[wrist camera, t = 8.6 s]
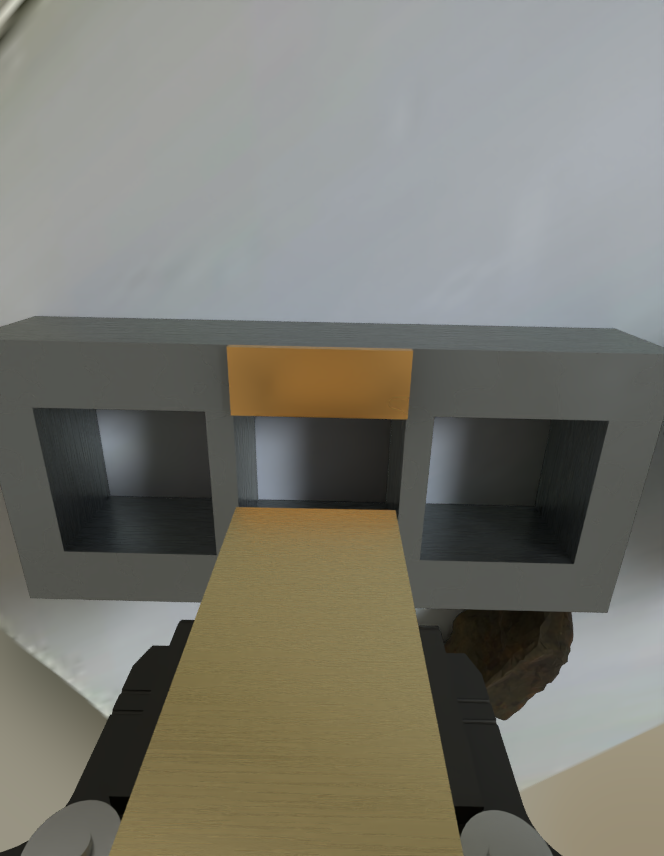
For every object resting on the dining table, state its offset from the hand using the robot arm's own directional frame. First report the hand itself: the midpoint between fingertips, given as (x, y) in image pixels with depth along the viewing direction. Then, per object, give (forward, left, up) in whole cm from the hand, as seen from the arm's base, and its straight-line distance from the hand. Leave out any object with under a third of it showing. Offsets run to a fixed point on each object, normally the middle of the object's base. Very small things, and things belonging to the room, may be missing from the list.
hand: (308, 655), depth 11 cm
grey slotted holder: (0, 0, -11) cm, 11 cm away
